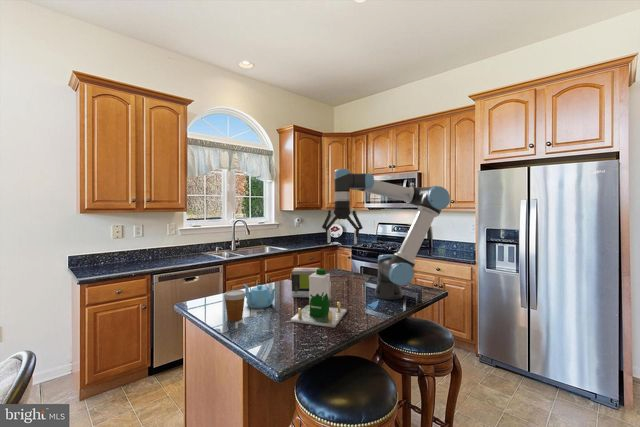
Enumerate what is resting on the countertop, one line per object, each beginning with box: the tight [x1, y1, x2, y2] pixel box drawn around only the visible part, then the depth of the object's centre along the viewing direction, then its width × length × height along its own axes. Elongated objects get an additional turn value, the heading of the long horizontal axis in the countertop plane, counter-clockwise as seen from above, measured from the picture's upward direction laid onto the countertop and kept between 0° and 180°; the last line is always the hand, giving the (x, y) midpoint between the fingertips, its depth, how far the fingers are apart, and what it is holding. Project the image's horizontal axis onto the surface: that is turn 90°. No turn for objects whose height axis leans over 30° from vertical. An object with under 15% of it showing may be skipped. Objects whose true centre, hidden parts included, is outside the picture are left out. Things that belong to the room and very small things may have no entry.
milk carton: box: [308, 268, 331, 317], centre depth 144 cm, size 9×9×20 cm
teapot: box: [243, 283, 278, 310], centre depth 160 cm, size 15×15×10 cm
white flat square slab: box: [290, 301, 347, 328], centre depth 145 cm, size 20×20×5 cm
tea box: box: [290, 267, 321, 298], centre depth 178 cm, size 15×10×15 cm, turn 84°
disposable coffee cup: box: [223, 289, 246, 322], centre depth 142 cm, size 10×10×12 cm
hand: (342, 243), depth 158 cm, fingers open, 13 cm apart
